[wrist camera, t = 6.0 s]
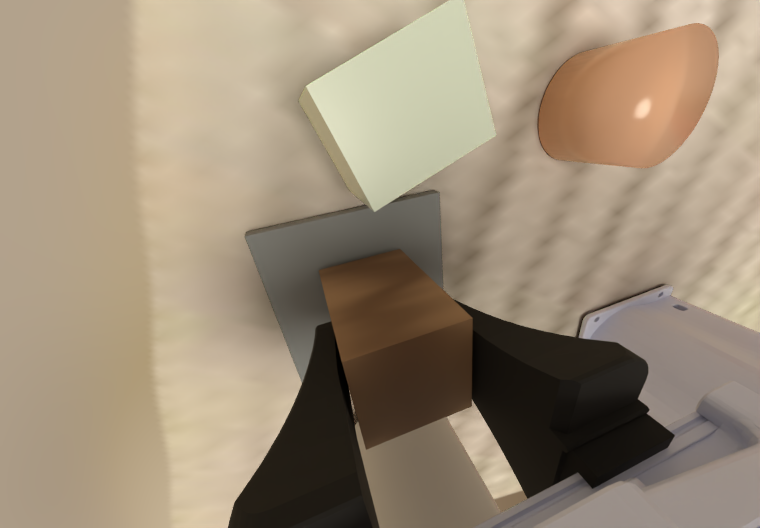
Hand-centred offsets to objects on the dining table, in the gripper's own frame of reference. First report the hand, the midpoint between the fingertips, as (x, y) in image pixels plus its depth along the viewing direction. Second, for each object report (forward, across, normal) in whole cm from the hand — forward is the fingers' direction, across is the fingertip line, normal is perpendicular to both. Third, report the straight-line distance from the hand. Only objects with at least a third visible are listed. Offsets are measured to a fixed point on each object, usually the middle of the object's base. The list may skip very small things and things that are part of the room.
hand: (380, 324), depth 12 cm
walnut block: (+2, 0, 0) cm, 2 cm away
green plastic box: (+3, -2, -8) cm, 9 cm away
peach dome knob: (+3, -13, -7) cm, 15 cm away
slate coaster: (+3, 0, 0) cm, 3 cm away
